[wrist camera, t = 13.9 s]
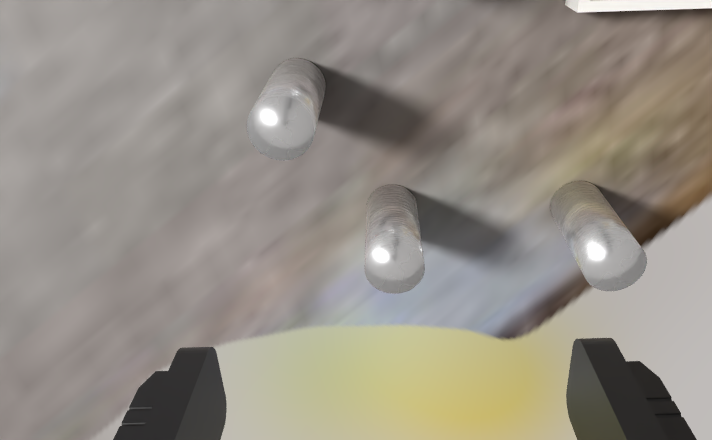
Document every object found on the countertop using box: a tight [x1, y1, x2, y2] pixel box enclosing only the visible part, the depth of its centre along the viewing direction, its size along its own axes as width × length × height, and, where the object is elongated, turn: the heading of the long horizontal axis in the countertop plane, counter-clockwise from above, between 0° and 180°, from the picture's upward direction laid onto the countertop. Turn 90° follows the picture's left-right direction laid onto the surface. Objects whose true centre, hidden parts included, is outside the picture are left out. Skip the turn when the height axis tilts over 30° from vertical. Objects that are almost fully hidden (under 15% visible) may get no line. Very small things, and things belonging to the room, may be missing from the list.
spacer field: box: [247, 58, 647, 294], centre depth 35 cm, size 22×23×8 cm
